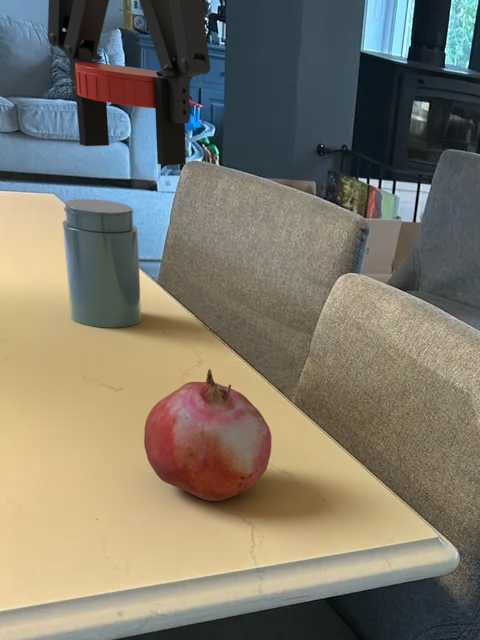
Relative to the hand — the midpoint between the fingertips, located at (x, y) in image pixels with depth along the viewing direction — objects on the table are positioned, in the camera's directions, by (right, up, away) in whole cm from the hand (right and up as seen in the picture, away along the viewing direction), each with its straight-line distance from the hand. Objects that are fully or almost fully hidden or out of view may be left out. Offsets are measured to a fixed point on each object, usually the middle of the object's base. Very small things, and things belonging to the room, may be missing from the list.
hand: (132, 154), depth 78 cm
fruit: (+9, -31, -9) cm, 33 cm away
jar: (-11, -7, +23) cm, 26 cm away
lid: (+1, +5, -3) cm, 6 cm away
